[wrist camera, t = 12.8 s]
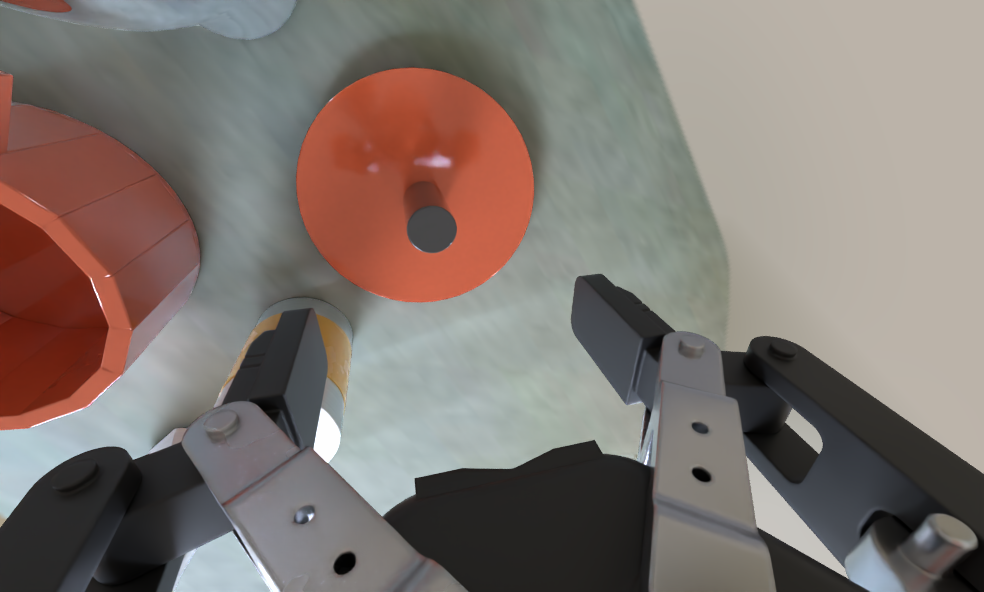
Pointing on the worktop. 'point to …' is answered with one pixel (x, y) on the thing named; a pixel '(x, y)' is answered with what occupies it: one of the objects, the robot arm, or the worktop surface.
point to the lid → (415, 184)
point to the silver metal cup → (167, 14)
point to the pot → (80, 261)
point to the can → (339, 360)
